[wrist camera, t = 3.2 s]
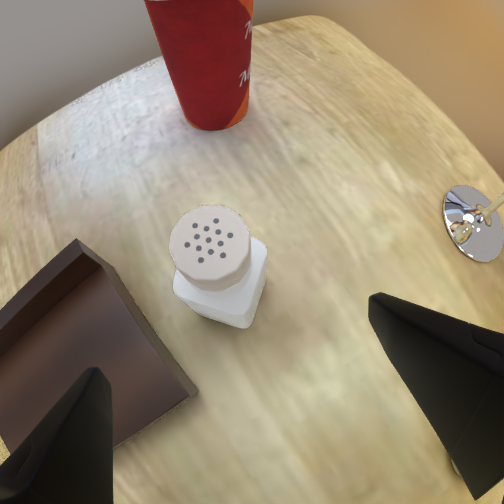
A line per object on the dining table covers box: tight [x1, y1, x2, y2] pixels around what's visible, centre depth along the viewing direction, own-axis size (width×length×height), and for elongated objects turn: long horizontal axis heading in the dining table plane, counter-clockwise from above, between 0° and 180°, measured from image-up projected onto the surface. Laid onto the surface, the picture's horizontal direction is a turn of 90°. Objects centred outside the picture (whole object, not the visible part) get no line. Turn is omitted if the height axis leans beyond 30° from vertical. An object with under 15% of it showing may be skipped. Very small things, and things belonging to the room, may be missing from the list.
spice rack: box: [0, 238, 199, 454], centre depth 16 cm, size 11×16×6 cm
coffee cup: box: [144, 0, 253, 131], centre depth 20 cm, size 8×8×15 cm
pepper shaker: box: [169, 205, 267, 328], centre depth 16 cm, size 4×4×10 cm
